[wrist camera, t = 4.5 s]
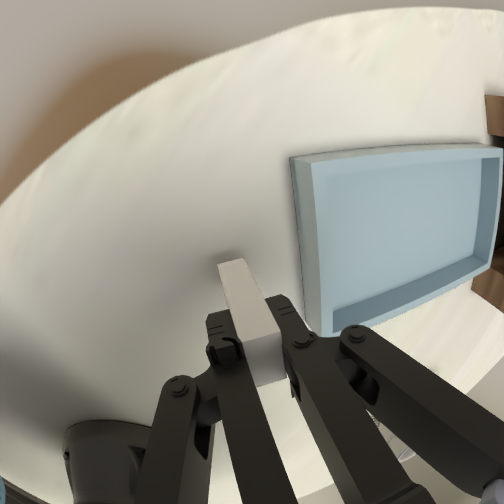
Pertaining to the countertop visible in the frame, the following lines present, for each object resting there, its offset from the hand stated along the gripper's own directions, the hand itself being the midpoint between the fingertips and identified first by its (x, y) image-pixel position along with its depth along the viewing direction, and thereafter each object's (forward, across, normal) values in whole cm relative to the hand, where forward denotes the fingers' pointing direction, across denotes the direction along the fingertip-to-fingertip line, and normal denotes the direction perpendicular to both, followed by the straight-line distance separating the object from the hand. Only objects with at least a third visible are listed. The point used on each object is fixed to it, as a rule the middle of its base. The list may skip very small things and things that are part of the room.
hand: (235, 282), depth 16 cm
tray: (+2, +15, 0) cm, 15 cm away
